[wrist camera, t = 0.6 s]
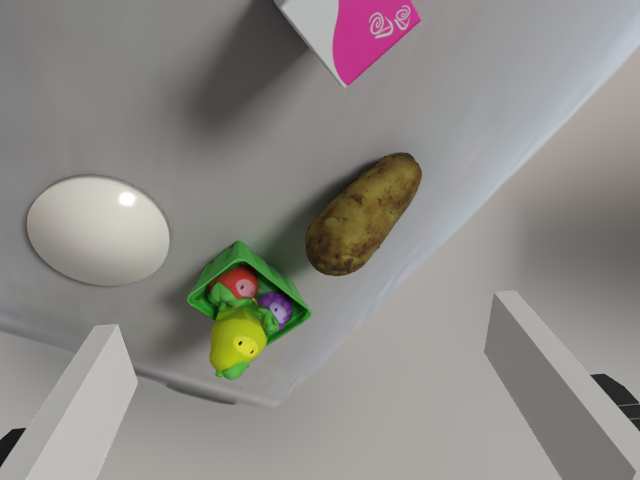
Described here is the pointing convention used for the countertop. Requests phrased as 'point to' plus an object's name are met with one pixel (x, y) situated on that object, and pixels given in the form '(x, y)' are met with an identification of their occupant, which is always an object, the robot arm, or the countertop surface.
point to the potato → (362, 215)
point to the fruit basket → (245, 307)
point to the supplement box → (349, 30)
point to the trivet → (99, 230)
